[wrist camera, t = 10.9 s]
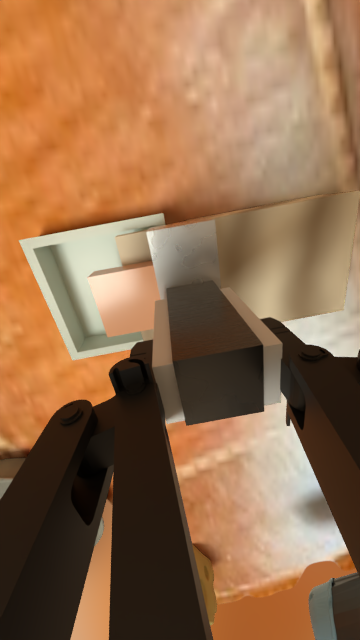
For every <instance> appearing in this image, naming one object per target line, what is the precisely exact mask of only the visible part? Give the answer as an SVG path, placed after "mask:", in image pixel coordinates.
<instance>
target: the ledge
mask: <svg viewBox="0 0 360 640" xmlns="http://www.w3.org/2000/svg"><path fill="white" fill-rule="evenodd" d="M359 200H360V190H359V191H350V192H342V193H333V194H324V195H316V196H311V197H305V198H300V199H295V200H289V201H284V202H279V203H274V204H268V205H263V206H258V207H253V208H247V209H242V210H237V211H232V212H226V213H221V214H216V215H210V216H205V217H200V218H195V219H201V218H207V219H215V226H216V237H217V248H218V259H219V270H220V281H221V289H222V288H228V287H230V288H231V289H232V290H233V291H234V293H235V294H236V295H237V296H238V297H239V298H240V299H241V300H242V301H243V302H244V303H245V304H246V305H247V306H248V307H249V308H250V309H251V310H252V312H253V313H254V314H255V315H256V316H257V317H258V318H259V319H262V318H268V317H271V318H274V319H276V320H279V321H280V322H284V321H289V320H294V319H299V318H305V317H310V316H315V315H320V314H326V313H331V312H336V311H341V310H344V303H345V297H346V290H347V283H348V276H349V269H350V262H351V255H352V248H353V241H354V235H355V228H356V221H357V214H358V207H359ZM195 219H189V220H185V221H190V220H195ZM146 232H147V230H143V231H138V232H133V233H128V234H122V235H117V236H116V237H115V241H116V245H117V248H118V252H119V255H120V259H121V263H122V266H126V265H131V264H137V263H142V262H147V261H152V257H151V252H150V248H149V243H148V238H147V233H146ZM153 334H154V329H150V330H145V331H141V335H142V338H143V341H147V340H153Z"/></svg>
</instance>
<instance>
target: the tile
mask: <svg viewBox="0 0 360 640" xmlns="http://www.w3.org/2000/svg"><path fill="white" fill-rule="evenodd" d="M87 279H88V282H89V284H90V287H91V290H92V293H93V296H94V299H95V302H96V305H97V308H98V311H99V314H100V317H101V319H102V322H103V325H104V328H105V331H106V334H107V337H113V336H118V335H123V334H129V333H134V332H140V331H145V330H150V329H154V312H155V301H157V300H161V299H160V294H159V290H158V285H157V280H156V276H155V271H154V266H153V262H152V261H147V262H142V263H137V264H131V265H126V266H120V267H115V268H109V269H104V270H98V271H94V272H93V273H92V274H91V275H89V276H88V277H87Z"/></svg>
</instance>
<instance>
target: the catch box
mask: <svg viewBox="0 0 360 640" xmlns="http://www.w3.org/2000/svg"><path fill="white" fill-rule="evenodd" d="M162 225H165V219H164V214H163V213H160V214H155V215H150V216H144V217H139V218H134V219H128V220H123V221H118V222H113V223H107V224H102V225H97V226H92V227H86V228H81V229H76V230H71V231H65V232H60V233H55V234H49V235H44V236H39V237H34V238H28V239H23V240H19V242H20V244H21V246H22V249H23V251H24V253H25V255H26V258H27V260H28V262H29V264H30V267H31V269H32V271H33V273H34V275H35V278H36V280H37V282H38V284H39V287H40V289H41V291H42V293H43V295H44V298H45V300H46V302H47V304H48V307H49V309H50V311H51V313H52V316H53V318H54V320H55V322H56V324H57V327H58V329H59V331H60V333H61V336H62V338H63V340H64V342H65V344H66V347H67V349H68V351H69V353H70V356H71V358H72V360H77V359H82V358H88V357H93V356H98V355H103V354H109V353H114V352H119V351H124V350H129V349H132V348H133V346H134V345H135V344H136V343H137V342H142V341H143V338H142V335H141V331H140V332H134V333H129V334H123V335H118V336H113V337H107V334H106V331H105V328H104V325H103V322H102V319H101V317H100V314H99V311H98V308H97V305H96V302H95V299H94V296H93V293H92V290H91V287H90V284H89V282H88V279H87V277H88V276H89V275H91V274H92V273H93V272H94V271H98V270H104V269H109V268H115V267H120V266H122V263H121V259H120V255H119V252H118V248H117V245H116V241H115V237H116V236H117V235H122V234H128V233H133V232H138V231H143V230H148V229H149V228H151V227H157V226H162Z"/></svg>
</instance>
